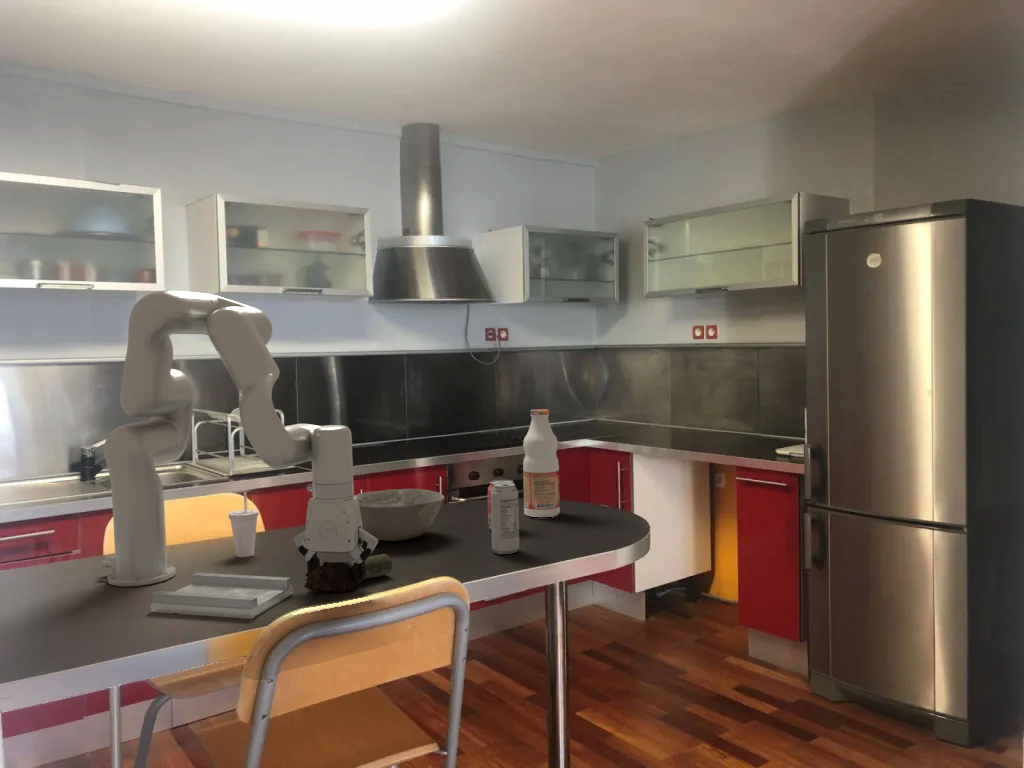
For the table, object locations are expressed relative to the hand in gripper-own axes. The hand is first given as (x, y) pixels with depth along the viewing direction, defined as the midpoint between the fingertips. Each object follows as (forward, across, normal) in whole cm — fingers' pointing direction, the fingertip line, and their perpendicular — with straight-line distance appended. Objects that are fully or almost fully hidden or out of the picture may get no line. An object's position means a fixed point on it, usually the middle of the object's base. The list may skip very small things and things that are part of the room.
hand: (336, 580), depth 157 cm
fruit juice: (+2, +25, +70) cm, 74 cm away
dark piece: (+2, +2, +3) cm, 4 cm away
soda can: (+2, +19, +52) cm, 55 cm away
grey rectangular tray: (+2, -17, -11) cm, 20 cm away
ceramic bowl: (+2, -4, +40) cm, 40 cm away
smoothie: (+2, -32, +20) cm, 38 cm away
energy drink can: (+2, +25, +32) cm, 41 cm away
